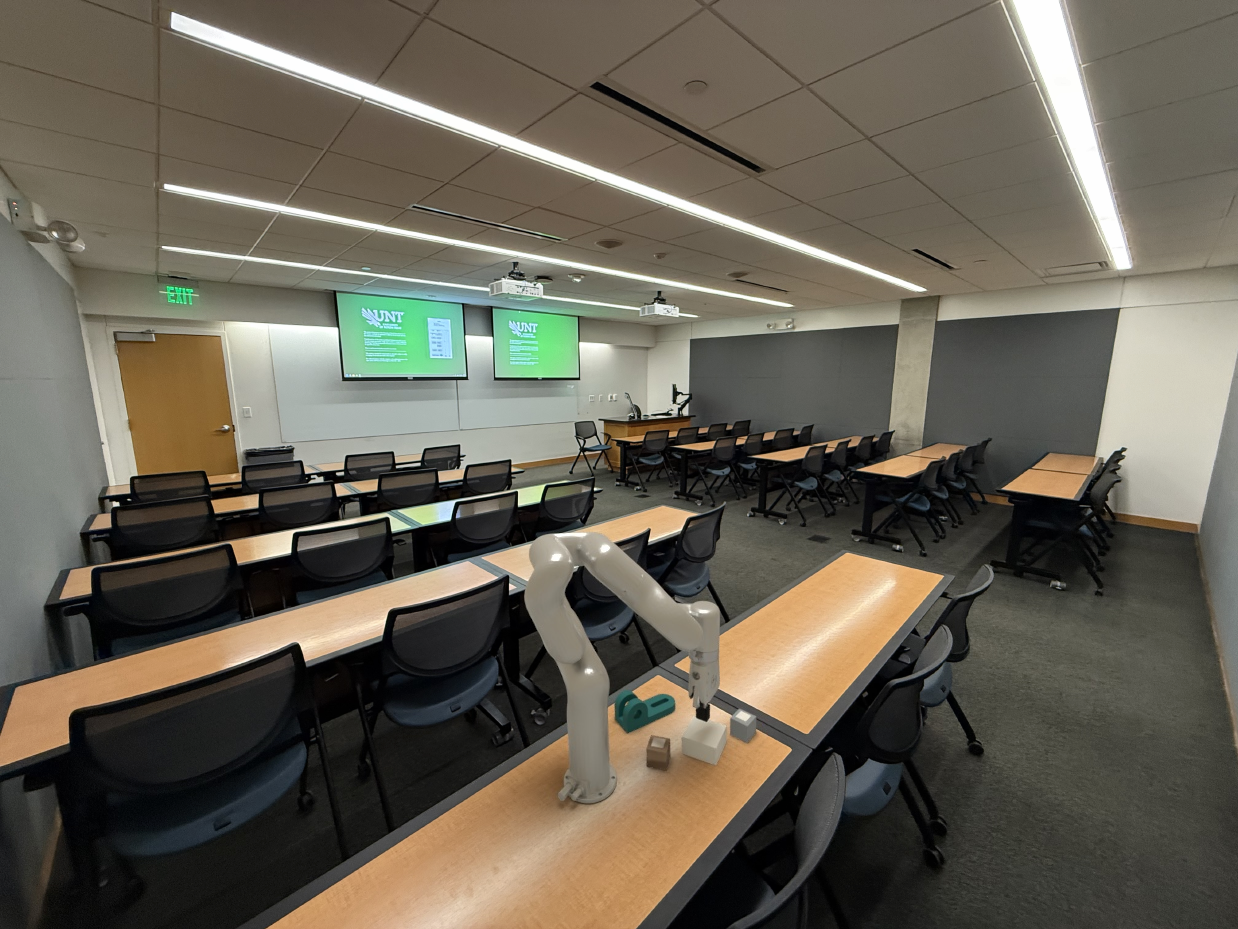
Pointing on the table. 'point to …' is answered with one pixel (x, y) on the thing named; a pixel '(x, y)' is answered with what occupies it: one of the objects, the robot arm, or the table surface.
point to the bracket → (641, 710)
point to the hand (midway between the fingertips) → (702, 718)
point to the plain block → (704, 740)
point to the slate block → (743, 725)
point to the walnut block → (658, 752)
